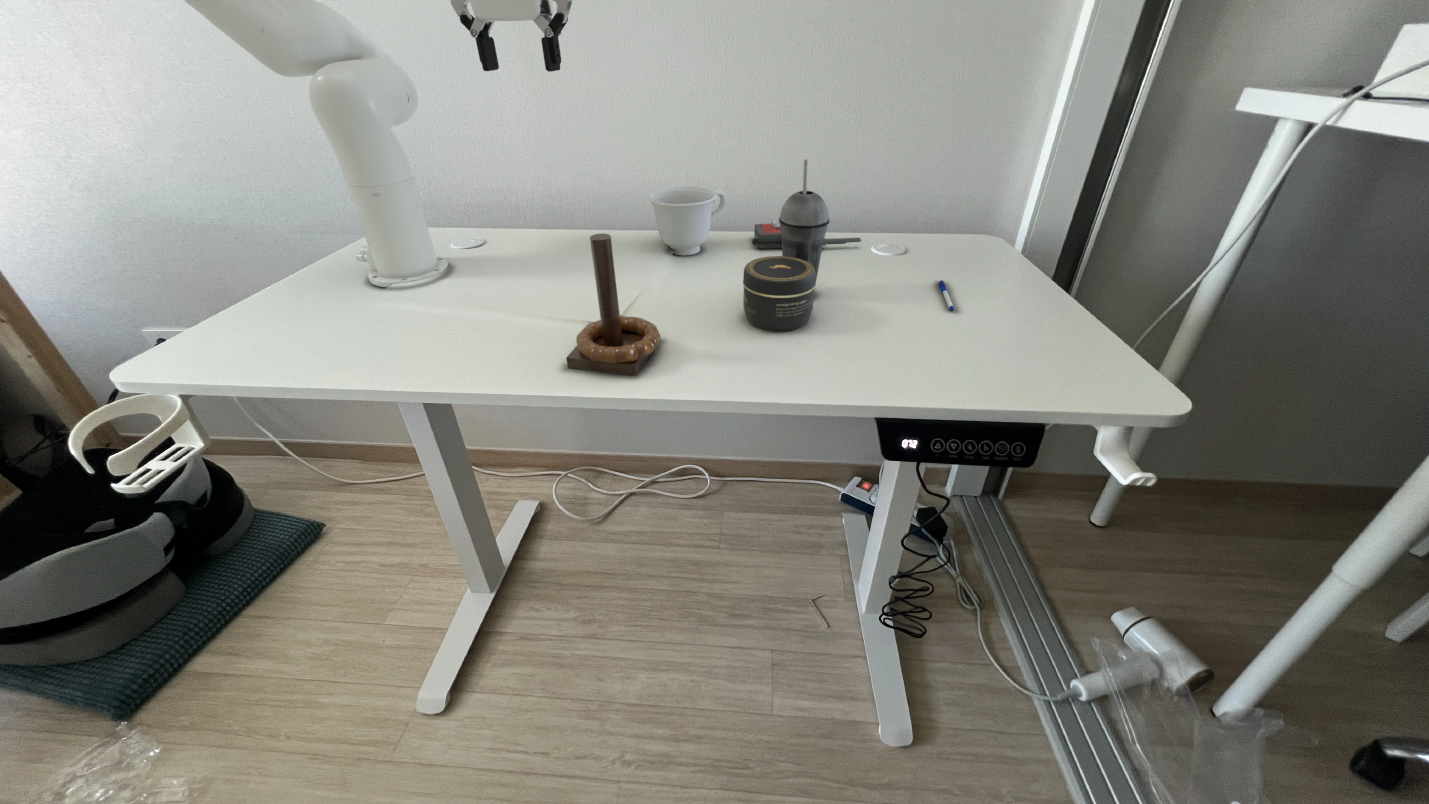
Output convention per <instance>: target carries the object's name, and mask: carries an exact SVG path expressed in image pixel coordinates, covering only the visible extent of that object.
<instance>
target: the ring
mask: <svg viewBox="0 0 1429 804" xmlns="http://www.w3.org/2000/svg"><path fill="white" fill-rule="evenodd" d="M620 322H621V330H622V331H626V332H636V333H638V334H640V335H643V336H644V337H643V339H642V340H640V341H638V342H636V343H633V344H631V345H626V346H619V347H608V346H599V345H598V344H596V343H594V342H593V341H594V340H595V339H596V338H598V337H600V336H602V335H603V333H602V325H601V319H599V320H596V321H593V322H590V323H588V324H587V325H586V326H584V327H583V328H582V330H580V332H579V333H578V334H577V335H576V337H575V339H576V340H575V341H576V346H578V351H579V352H580V353H581V354H582V355H584V356H586V357H587V358H589V359H591V360H593V361H595V362H603V363H611V364H617V363H624V362H631V361H636V360H638V359H640V358H642V357H644V356H647V355H649V354H650V355H651V354H652V353H653V352H654V351H655V350H656V348H657V346H658V345H659V344H660V342H661V339H662V336H661V334H660V331H659V329H658V327H657V325H656V324H655V323H654V322H651V321H648V320H646V319H644V318H643V317H636V316H628V315H620ZM650 355H649V356H650Z"/></svg>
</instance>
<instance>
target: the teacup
mask: <svg viewBox="0 0 1429 804" xmlns="http://www.w3.org/2000/svg"><path fill="white" fill-rule="evenodd" d="M717 197H719V204H718V206H717V207H716V208H715V210H713V206H714V204H715V202H716V199H717ZM648 200H649V202H651V204H652V206H653V207H652V208H653V211H654V216H655V219H656V226H657V231H658V235H659V238H660V239H661V240H662V242H663V243H665V244H666V245H667V246H669V247H670V248H671V249H672V250H674V252H673V255H675V256H676V255H677V256H692V255H696V254H698V253H700V251H701V245H702V244H703V243H704V242H706V240H707V239H708V237H709V234H710V229H711V223H712V221H713V220H714V219H715V218H716V217H718V216H720V215H721V214H722V213H723V211H724V210H725V208H726V205H727V196H726V193H725V192H724V191H723V190H722V189H714V190H711V189H708V188H704V187H699V186H698V187H697V186H675V187H674V186H673V187H666V188H661V189H658V190H655V191H653V192H651V193H650V194H649V195H648Z"/></svg>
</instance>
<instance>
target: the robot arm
mask: <svg viewBox="0 0 1429 804" xmlns="http://www.w3.org/2000/svg"><path fill="white" fill-rule="evenodd" d="M183 2H185V3H186V4H187V5H189V6H190V7H191V8H193V9H194V10H195V11H196V12H197V13H199V14H200V15H201V16H202V17H204V18H205V19H206V20H207V21H208V22H210V24H212V25H213V26H214V27H215V28H217V29H218V30H219V31H221V32H222V33H223V34H224V35H225V36H227V37H228V38H230V40H232V41H233V42H234V43H235V44H237V45H238V46H239V47H241V48H242V49H243V50H245V51H246V52H247V53H248V54H250V55H251V56H252V57H253V58H255V59H256V60H257V61H258V62H260V63H261V64H262V65H263V66H264V67H266V68H267V69H269V70H271V71H272V72H274V73H275V74H277V75H279V76H283V77H286V78H302V77H311V76H312V77H311V79H310V82H309V85H308V98H309V104H310V106H311V109H312V112H313V115H314V116H315V118H316V120H317V121H318V124H319V125H320V127H321V129H322V130H323V133H324V134H325V136H326V138H327V140H328V142H329V144H330V146H331V148H332V150H333V154H334V155H335V158H336V159H337V163H338V166H339V168H340V170H341V173H342V176H343V179H344V182H345V184H346V186H347V189H348V192H349V194H350V197H351V200H352V203H353V206H354V209H355V211H356V215H357V218H358V221H359V224H360V225H361V229H362V232H363V234H364V238H365V240H366V243H367V246H366V245H363V246H361V247H360V248H359V253H357V254H356V256H355V258H356V260H357V261H358V262H359V263H360V262H361V263H362V262H364V263H369V266H370V269H369V270H368V273H367V278H368V280H369V282H370V283H371V284H372V285H375V286H377V287H380V288H389V287H391V286H392V285H394V284H404V283H405V284H406V283H410V282H416V281H421V280H425V279H428V278H431V277H433V276H436V275H438V274H440V273H442V272H443V271H445V270H446V269H448V266H449V262H448V261H447V259H445V258H444V257H441V256H439V255H437V253H436V250H435V247H434V244H433V241H432V237H431V233H430V229H429V226H428V223H427V220H426V216H425V212H424V209H423V205H422V202H421V198H420V195H419V192H418V187H417V185H416V181H415V178H414V174H413V171H412V168H411V164H410V162H409V159H408V156H407V154H406V152H405V149H404V148H403V146H402V144H401V142H400V141H399V139H398V137H397V135H396V134H395V132H394V130H393V128H394V127H397V126H400V125H402V124H404V123H406V122H408V121H410V119H412V118H413V117H414V115H415V113H416V112H417V109H418V104H419V97H418V91H417V89H416V86H415V83H414V82H413V80H412V79H411V77H410V75H409V74H408V73H407V71H406V70H405V69H404V68H403V66H401V65H400V64H399V63H398V62H397V61H396V60H395V59H394V58H393V57H391V56H390V55H389V54H388V53H387V52H386V51H384V50H383V49H382V48H381V47H380V46H379V45H377V44H376V43H375V42H374V41H373V40H372V39H370V38H369V37H368V36H367V35H366V34H365V33H364V32H362V30H360V29H359V28H358V27H357V26H355V24H354V23H352V22H351V21H349V19H347V18H346V17H345V16H344V15H342V14H341V13H339V12H338V11H336V10H335V9H333V8H332V7H330V6H329V5H326V4H324V3H323V2H319V1H317V0H183ZM553 2H555V4H556V5H557V6H556V13H555V14H554V3H553ZM468 4H470V7H471V10H472V12H473V15H474V16H473V15H472V14H471V12H470V10H469V8H468ZM572 4H573V0H450V5H451V6H452V9H453V10H454V12H455V13H456V15H457V17H458V18H459V21H460V23H461V24H462V26H463V27H465V29H466V30H467V31H468V32H469V34H470V36H471V37H472V38H473V39H475V44H476V48H477V52H478V57H479V62H480V64H481V67H482V70H483V72H492V71H497V70H498V69H500V65H499V60H498V55H497V49H496V44H495V39H494V38H493V36H490V33H491V30H492V28H493V27H494V24H495V22H527V21H533V22H534V23H535V25H536V26H537V27H538V28H539V30H540V31H541V32H542V33H543V37H541V39H540V40H541V47H542V48H541V49H542V54H543V60H544V61H543V62H544V66H545V70H546V72H556V71H560V70H561V64H562V56H561V48H560V41H559V37H561V35H562V31H563V29H564V28H565V26H566V25H567V23H568V22H569V15H570V11H571V7H572Z"/></svg>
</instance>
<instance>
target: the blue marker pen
mask: <svg viewBox="0 0 1429 804" xmlns="http://www.w3.org/2000/svg"><path fill="white" fill-rule="evenodd" d="M938 286H939V289H940V291H941V293H942V296H943V297H944V300H945V302H946V304H947V308H948V309H949V311H951V312H953V311H954V307H955V306H954V305H953V302H952V300H951V298H950V295H949V294H948V289H947V287H946V284H945V282H944V280H942V279H941V280H940V281H939V282H938Z"/></svg>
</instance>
